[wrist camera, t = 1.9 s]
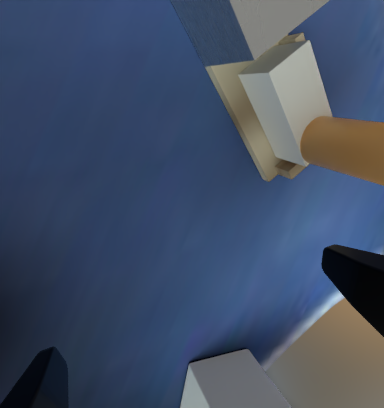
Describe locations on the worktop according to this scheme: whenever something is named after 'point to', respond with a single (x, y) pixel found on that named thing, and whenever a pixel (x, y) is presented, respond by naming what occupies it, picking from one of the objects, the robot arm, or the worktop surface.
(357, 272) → the robot arm
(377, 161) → the orange upright rod
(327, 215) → the worktop surface
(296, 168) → the cradle
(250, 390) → the milk carton
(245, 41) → the socket
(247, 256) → the worktop surface
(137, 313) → the worktop surface
